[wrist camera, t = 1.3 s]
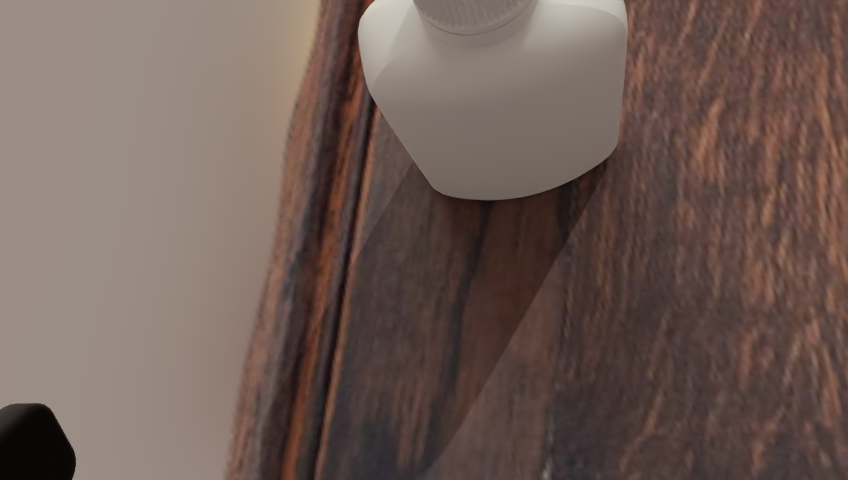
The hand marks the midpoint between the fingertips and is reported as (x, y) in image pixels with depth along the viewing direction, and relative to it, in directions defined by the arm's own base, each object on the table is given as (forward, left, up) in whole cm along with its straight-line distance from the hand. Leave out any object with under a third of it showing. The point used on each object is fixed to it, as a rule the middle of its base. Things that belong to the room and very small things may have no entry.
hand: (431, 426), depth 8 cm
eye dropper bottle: (+8, -2, -14) cm, 16 cm away
